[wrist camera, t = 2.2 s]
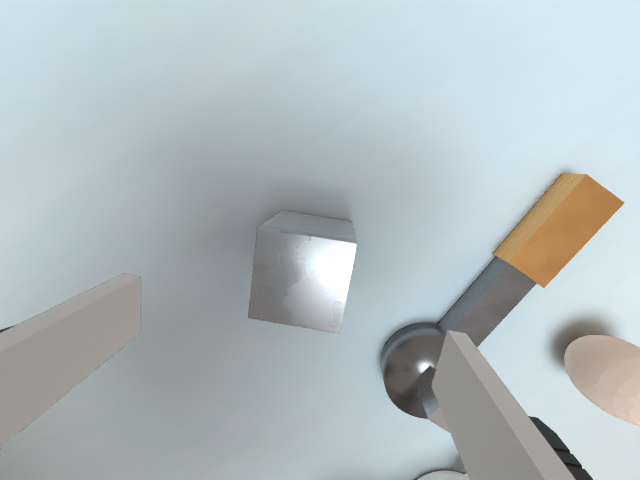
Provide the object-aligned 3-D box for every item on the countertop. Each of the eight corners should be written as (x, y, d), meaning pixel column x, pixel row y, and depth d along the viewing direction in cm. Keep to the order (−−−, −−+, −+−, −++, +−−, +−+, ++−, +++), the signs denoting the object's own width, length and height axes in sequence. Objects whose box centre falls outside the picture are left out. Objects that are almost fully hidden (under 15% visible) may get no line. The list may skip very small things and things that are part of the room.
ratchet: (363, 369, 29) (370, 425, 22) (540, 157, 23) (614, 153, 17) (430, 411, 29) (455, 478, 23) (617, 214, 24) (716, 231, 18)
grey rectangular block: (274, 275, 27) (247, 317, 19) (282, 209, 26) (257, 227, 18) (339, 286, 27) (339, 333, 19) (351, 221, 26) (356, 243, 18)
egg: (611, 315, 26) (726, 377, 18) (610, 370, 27) (718, 449, 19) (544, 324, 27) (628, 388, 19) (546, 378, 28) (626, 458, 20)
